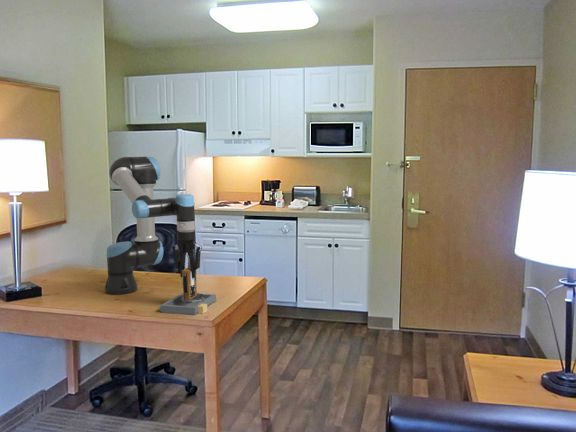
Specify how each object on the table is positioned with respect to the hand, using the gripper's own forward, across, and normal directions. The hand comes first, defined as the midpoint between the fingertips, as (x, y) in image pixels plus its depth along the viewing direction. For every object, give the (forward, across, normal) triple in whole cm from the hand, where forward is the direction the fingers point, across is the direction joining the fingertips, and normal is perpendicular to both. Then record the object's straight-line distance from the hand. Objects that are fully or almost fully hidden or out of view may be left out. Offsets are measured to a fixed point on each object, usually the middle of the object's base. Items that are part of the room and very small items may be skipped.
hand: (188, 284), depth 220 cm
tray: (+10, +1, 0) cm, 10 cm away
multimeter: (+6, +4, +1) cm, 7 cm away
